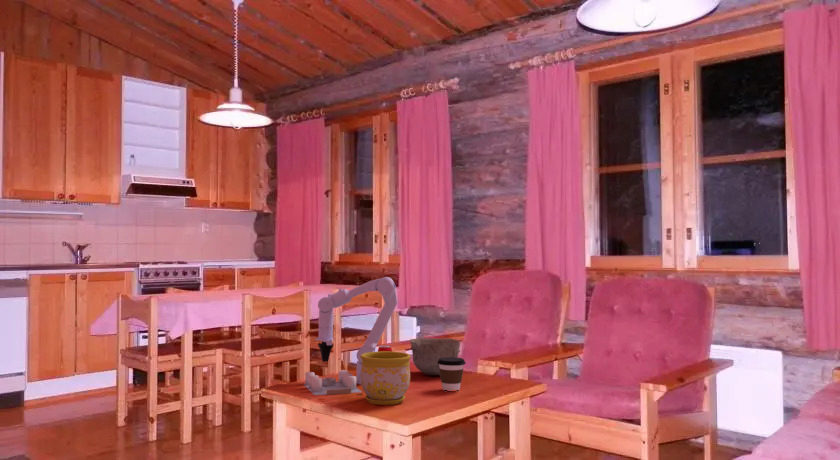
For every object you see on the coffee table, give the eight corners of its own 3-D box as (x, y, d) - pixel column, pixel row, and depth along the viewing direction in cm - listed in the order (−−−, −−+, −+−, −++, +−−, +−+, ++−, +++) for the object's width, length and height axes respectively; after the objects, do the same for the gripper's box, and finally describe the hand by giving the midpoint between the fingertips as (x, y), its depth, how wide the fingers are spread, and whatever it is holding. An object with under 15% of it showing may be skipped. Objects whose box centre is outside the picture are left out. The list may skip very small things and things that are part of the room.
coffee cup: (469, 389, 260) (469, 358, 260) (459, 394, 250) (459, 362, 250) (443, 386, 264) (443, 356, 265) (432, 391, 254) (432, 360, 255)
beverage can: (389, 375, 287) (390, 347, 287) (375, 374, 288) (376, 346, 288) (393, 372, 293) (393, 345, 293) (379, 372, 294) (380, 344, 294)
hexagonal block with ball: (328, 383, 262) (328, 376, 262) (337, 385, 259) (337, 378, 259) (319, 385, 259) (319, 378, 259) (329, 387, 255) (329, 380, 255)
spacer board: (347, 383, 267) (347, 369, 268) (362, 395, 246) (362, 380, 246) (302, 386, 261) (303, 372, 261) (314, 398, 240) (314, 383, 240)
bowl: (407, 370, 299) (407, 337, 299) (455, 370, 301) (455, 337, 302) (412, 379, 277) (412, 343, 277) (463, 379, 279) (464, 343, 280)
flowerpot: (416, 405, 231) (416, 358, 231) (365, 408, 226) (366, 359, 226) (402, 394, 248) (403, 350, 249) (355, 397, 243) (356, 352, 244)
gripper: (312, 325, 271) (311, 358, 271) (319, 329, 258) (319, 364, 257) (329, 325, 274) (328, 358, 273) (337, 328, 260) (336, 363, 260)
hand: (325, 361), depth 266 cm, fingers closed
